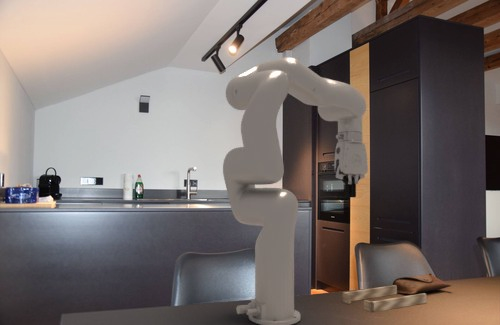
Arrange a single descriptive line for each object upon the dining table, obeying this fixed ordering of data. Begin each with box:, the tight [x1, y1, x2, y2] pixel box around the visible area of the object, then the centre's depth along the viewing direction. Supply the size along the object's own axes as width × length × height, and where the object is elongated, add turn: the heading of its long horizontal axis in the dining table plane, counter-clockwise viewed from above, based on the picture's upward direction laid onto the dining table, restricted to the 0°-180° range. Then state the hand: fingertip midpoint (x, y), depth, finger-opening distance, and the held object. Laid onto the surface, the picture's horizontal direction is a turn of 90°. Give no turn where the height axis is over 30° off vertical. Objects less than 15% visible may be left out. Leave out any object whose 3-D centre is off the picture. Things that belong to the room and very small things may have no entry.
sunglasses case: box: [392, 273, 452, 295], centre depth 134 cm, size 18×7×7 cm
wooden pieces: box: [341, 284, 427, 313], centre depth 121 cm, size 20×12×2 cm, turn 117°
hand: (350, 197), depth 135 cm, fingers closed
